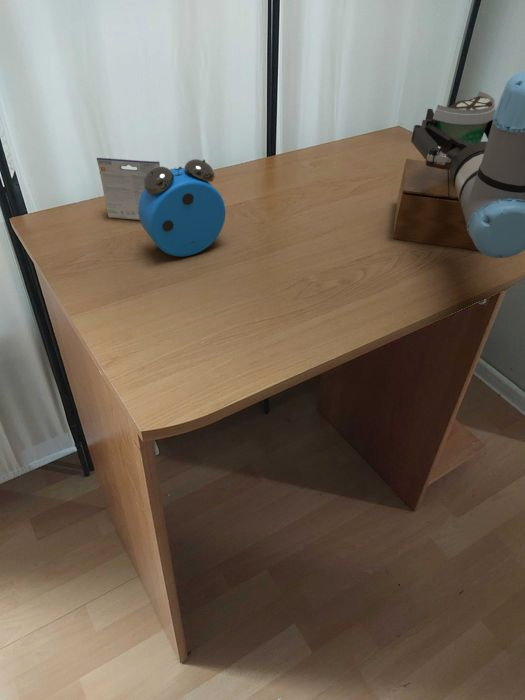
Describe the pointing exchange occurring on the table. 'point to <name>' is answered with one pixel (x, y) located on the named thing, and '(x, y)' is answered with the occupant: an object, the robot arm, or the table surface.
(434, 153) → the robot arm
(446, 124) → the food container
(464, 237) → the wooden box
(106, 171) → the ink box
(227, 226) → the table surface
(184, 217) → the alarm clock
